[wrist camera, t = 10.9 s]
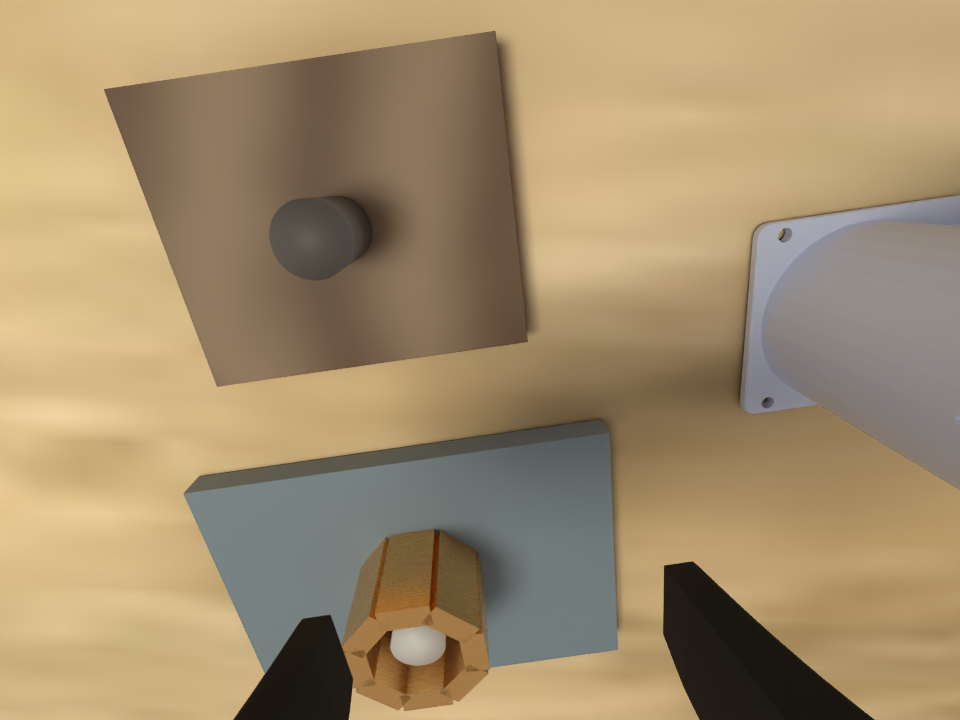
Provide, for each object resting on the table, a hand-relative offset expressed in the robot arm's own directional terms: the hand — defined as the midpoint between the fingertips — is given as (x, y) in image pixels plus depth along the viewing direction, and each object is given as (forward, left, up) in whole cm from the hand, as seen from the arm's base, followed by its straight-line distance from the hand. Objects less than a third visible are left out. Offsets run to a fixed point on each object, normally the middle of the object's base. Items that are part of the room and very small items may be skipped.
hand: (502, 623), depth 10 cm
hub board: (+4, +8, -10) cm, 14 cm away
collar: (+4, +8, -9) cm, 13 cm away
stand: (+4, -8, -10) cm, 14 cm away
